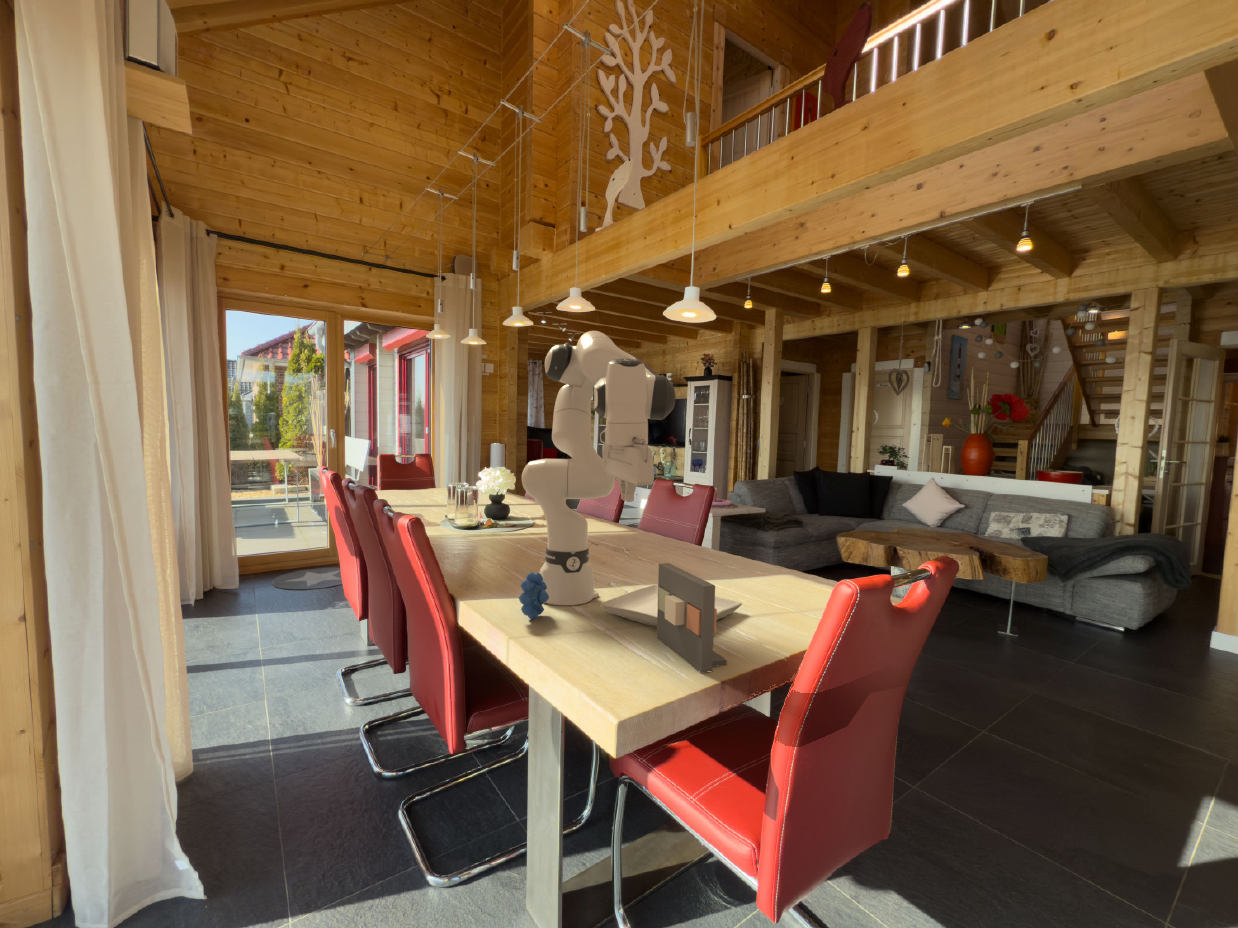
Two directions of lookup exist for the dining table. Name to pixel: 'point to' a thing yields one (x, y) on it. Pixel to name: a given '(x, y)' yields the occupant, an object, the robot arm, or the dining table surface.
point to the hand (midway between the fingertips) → (627, 500)
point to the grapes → (533, 595)
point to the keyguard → (679, 636)
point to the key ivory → (675, 610)
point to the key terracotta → (697, 619)
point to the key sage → (662, 598)
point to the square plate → (654, 605)
